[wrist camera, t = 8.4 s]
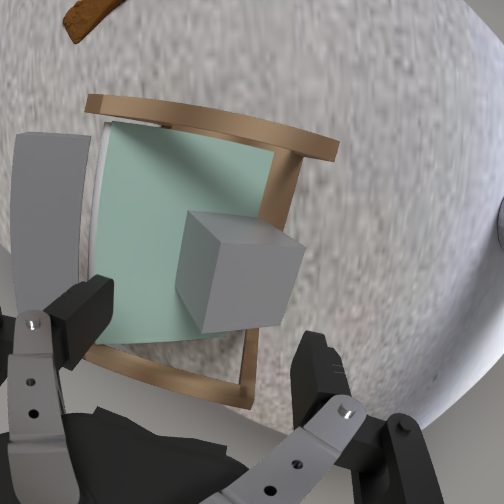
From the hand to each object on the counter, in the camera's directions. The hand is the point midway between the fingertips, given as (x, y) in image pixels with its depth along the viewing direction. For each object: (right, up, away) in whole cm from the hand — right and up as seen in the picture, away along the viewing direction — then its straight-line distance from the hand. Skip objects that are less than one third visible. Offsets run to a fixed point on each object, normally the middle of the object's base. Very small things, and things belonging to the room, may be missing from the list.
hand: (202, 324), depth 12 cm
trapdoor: (-6, +4, +7) cm, 10 cm away
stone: (0, +3, +8) cm, 8 cm away
